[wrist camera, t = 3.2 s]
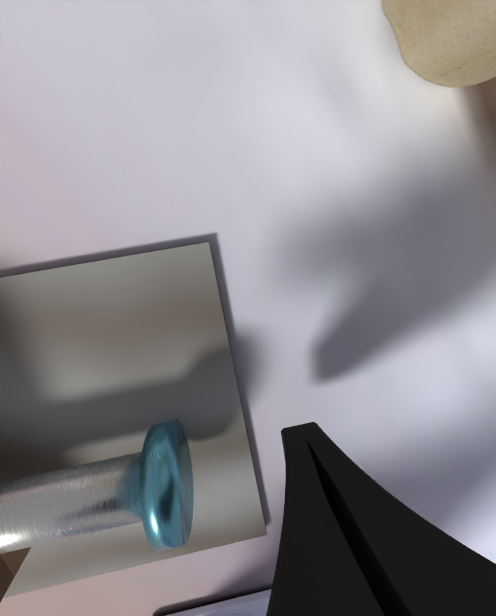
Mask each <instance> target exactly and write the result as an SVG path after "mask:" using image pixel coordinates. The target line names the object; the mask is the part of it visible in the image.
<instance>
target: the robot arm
mask: <svg viewBox="0 0 496 616" xmlns="http://www.w3.org/2000/svg"><path fill="white" fill-rule="evenodd" d="M281 435H282V442H283V449H284V455H285V462H286V487H285V504H284V515H283V524H282V532H281V539H280V546H279V552H278V559H277V564H276V570H275V575H274V580H273V585H272V589H269V590H265V591H261V592H257V593H253V594H249V595H245V596H241V597H237V598H233V599H229V600H225V601H221V602H217V603H213V604H209V605H205V606H201V607H197V608H193V609H189V610H185V611H181V612H177V613H173V614H169V615H165V616H496V564H495V563H493V562H491V561H490V560H488V559H486V558H485V557H483V556H481V555H480V554H478V553H476V552H475V551H473V550H471V549H470V548H468V547H466V546H465V545H463V544H462V543H460V542H459V541H457V540H456V539H454V538H452V537H451V536H449V535H448V534H446V533H445V532H443V531H442V530H440V529H439V528H437V527H436V526H434V525H432V524H431V523H429V522H428V521H426V520H425V519H424V518H422V517H421V516H419V515H418V514H417V513H415V512H414V511H412V510H411V509H410V508H408V507H407V506H406V505H404V504H403V503H402V502H400V501H399V500H398V499H396V498H395V497H394V496H392V495H391V494H390V493H389V492H387V491H386V490H385V489H384V488H383V487H381V486H380V485H379V484H378V483H377V482H375V481H374V480H373V479H372V478H371V477H370V476H368V475H367V474H366V473H365V472H364V471H363V470H362V469H361V468H359V467H358V466H357V465H356V464H355V463H354V462H353V461H352V460H351V459H350V458H349V457H348V456H347V455H346V454H345V453H344V452H343V451H342V450H341V449H340V448H339V447H338V446H337V445H336V444H335V443H334V442H333V441H332V440H331V439H330V438H329V437H328V436H327V435H326V434H325V433H324V432H323V430H322V429H321V428H320V427H319V426H318V425H317V424H316V423H315V422H311V423H306V424H302V425H297V426H292V427H288V428H283V430H282V431H281Z"/></svg>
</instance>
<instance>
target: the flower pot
mask: <svg viewBox="0 0 496 616" xmlns="http://www.w3.org/2000/svg"><path fill="white" fill-rule="evenodd" d="M382 7H383V12H384V14H385V16H386V18H387V19H388V21H389V22H390V24H391V26H392V28H393V31H394V33H395V36H396V39H397V42H398V45H399V48H400V52H401V56H402V59H403V60H404V62H405V63H406V64H407V65H408V66H409V67H410V68H411V70H412V71H413V72H415V73H416V74H417V75H419V76H420V77H422V78H423V79H425V80H427V81H429V82H431V83H433V84H437V85H440V86H446V87H466V86H472V85H476V84H479V83H482V82H485V81H487V80H490V79H492V78H494V77H496V0H382Z"/></svg>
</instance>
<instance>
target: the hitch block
mask: <svg viewBox="0 0 496 616" xmlns="http://www.w3.org/2000/svg"><path fill="white" fill-rule="evenodd" d="M175 419H177V420H179V421H180V422H181V424H182V426H183V428H184V430H185V433H186V436H187V440H188V445H189V450H190V455H191V463H192V472H193V488H194V505H193V520H192V527H191V532H190V536H189V539H188V541H187V543H186V544H185V545H183V546H179V547H175V548H171V549H166V550H162V551H158V552H157V551H155V550H154V549H152V547H151V546H150V544H149V542H148V540H147V537H146V534H145V530H144V526H143V521H142V522H138V523H133V524H129V525H125V526H120V527H116V528H111V529H107V530H103V531H98V532H94V533H90V534H85V535H81V536H76V537H72V538H68V539H63V540H59V541H55V542H50V543H46V544H41V545H37V546H33V547H28V548H24V549H20V550H15V551H11V552H6V553H2V554H0V602H1V600H2V599H3V598H4V597H8V596H12V595H16V594H21V593H25V592H29V591H33V590H37V589H42V588H46V587H50V586H54V585H58V584H63V583H67V582H71V581H75V580H79V579H84V578H88V577H92V576H96V575H100V574H105V573H109V572H113V571H117V570H121V569H126V568H130V567H134V566H138V565H142V564H147V563H151V562H155V561H159V560H164V559H168V558H172V557H176V556H180V555H185V554H189V553H193V552H197V551H201V550H206V549H210V548H214V547H218V546H222V545H227V544H231V543H235V542H239V541H243V540H248V539H252V538H256V537H260V536H264V535H267V533H266V527H265V522H264V517H263V512H262V507H261V502H260V497H259V492H258V487H257V482H256V476H255V471H254V466H253V461H252V456H251V451H250V446H249V441H248V436H247V431H246V426H245V421H244V416H243V411H242V406H241V401H240V396H239V390H238V385H237V380H236V375H235V370H234V365H233V360H232V355H231V350H230V345H229V340H228V335H227V330H226V325H225V320H224V315H223V310H222V304H221V299H220V294H219V289H218V284H217V279H216V274H215V269H214V264H213V259H212V254H211V249H210V244H209V242H203V243H197V244H191V245H185V246H179V247H174V248H168V249H162V250H156V251H150V252H144V253H139V254H133V255H127V256H121V257H115V258H109V259H103V260H98V261H92V262H86V263H80V264H74V265H68V266H62V267H57V268H51V269H45V270H39V271H33V272H27V273H22V274H16V275H10V276H4V277H0V482H3V481H7V480H12V479H17V478H21V477H26V476H31V475H35V474H40V473H45V472H49V471H54V470H59V469H63V468H68V467H73V466H78V465H82V464H87V463H92V462H96V461H101V460H106V459H110V458H115V457H120V456H124V455H129V454H134V453H138V452H142V449H143V444H144V440H145V437H146V435H147V432H148V430H149V428H150V427H151V426H152V425H153V424H156V423H160V422H165V421H170V420H175Z"/></svg>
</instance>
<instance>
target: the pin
mask: <svg viewBox="0 0 496 616" xmlns="http://www.w3.org/2000/svg"><path fill="white" fill-rule="evenodd" d="M193 505H194V488H193V472H192V463H191V455H190V450H189V445H188V440H187V436H186V433H185V430H184V428H183V426H182V424H181V422H180V421H179V420H177V419H175V420H170V421H165V422H160V423H156V424H153V425H152V426H151V427H150V428H149V430H148V432H147V435H146V437H145V440H144V444H143V449H142V452H138V453H134V454H129V455H124V456H120V457H115V458H110V459H106V460H101V461H96V462H92V463H87V464H82V465H78V466H73V467H68V468H63V469H59V470H54V471H49V472H45V473H40V474H35V475H31V476H26V477H21V478H17V479H12V480H7V481H3V482H0V554H2V553H6V552H11V551H15V550H20V549H24V548H28V547H33V546H37V545H41V544H46V543H50V542H55V541H59V540H63V539H68V538H72V537H76V536H81V535H85V534H90V533H94V532H98V531H103V530H107V529H111V528H116V527H120V526H125V525H129V524H133V523H138V522H142V521H143V526H144V530H145V534H146V537H147V540H148V542H149V544H150V546H151V547H152V549H154V550H155V551H157V552H158V551H162V550H166V549H171V548H175V547H179V546H183V545H185V544H186V543H187V541H188V539H189V536H190V532H191V527H192V520H193Z"/></svg>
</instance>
